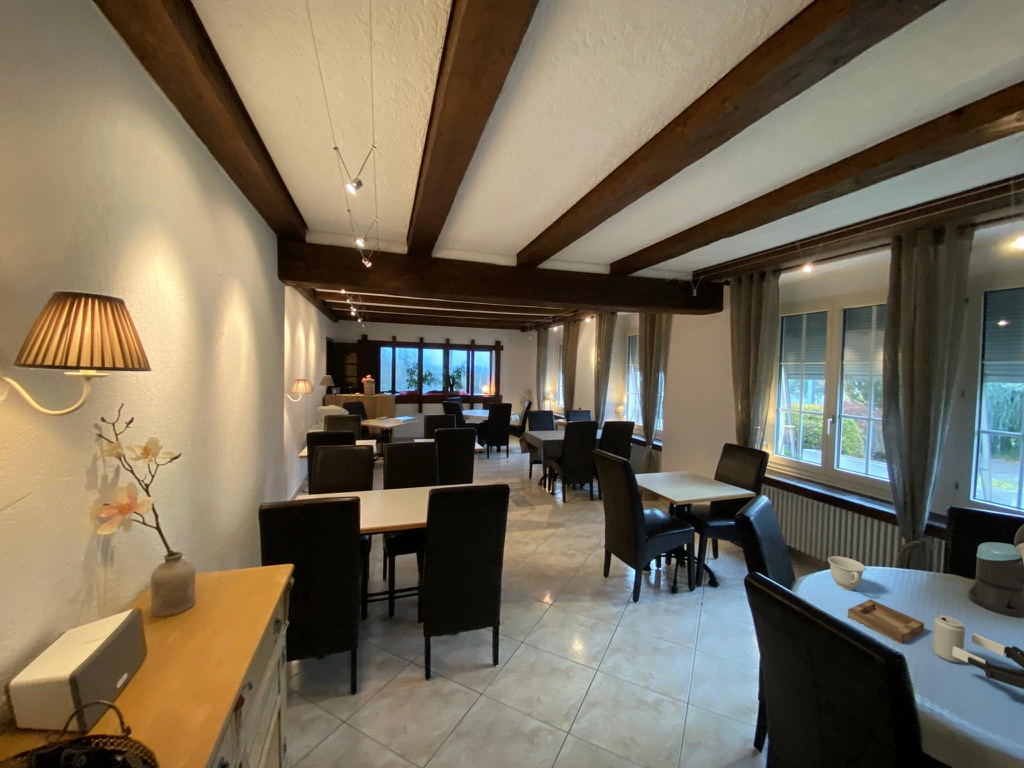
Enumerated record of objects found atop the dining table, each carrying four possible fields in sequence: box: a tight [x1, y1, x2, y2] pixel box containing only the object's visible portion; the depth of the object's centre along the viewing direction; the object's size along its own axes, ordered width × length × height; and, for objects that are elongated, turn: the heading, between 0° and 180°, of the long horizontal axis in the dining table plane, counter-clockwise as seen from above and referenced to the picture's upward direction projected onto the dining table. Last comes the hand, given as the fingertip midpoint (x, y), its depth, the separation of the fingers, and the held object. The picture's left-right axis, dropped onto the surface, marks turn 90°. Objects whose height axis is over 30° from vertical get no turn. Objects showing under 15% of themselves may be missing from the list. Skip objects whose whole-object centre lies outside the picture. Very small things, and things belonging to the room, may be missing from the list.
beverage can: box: [932, 614, 966, 664], centre depth 125 cm, size 6×6×12 cm
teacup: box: [827, 555, 867, 591], centre depth 162 cm, size 12×15×10 cm
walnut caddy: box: [847, 599, 925, 645], centre depth 140 cm, size 15×15×3 cm
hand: (962, 643), depth 121 cm, fingers open, 13 cm apart
